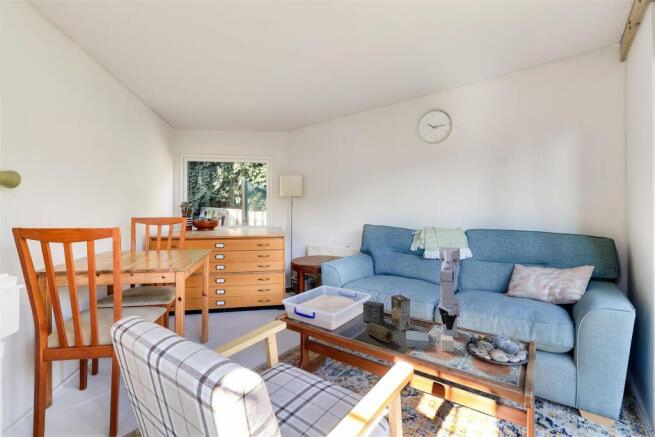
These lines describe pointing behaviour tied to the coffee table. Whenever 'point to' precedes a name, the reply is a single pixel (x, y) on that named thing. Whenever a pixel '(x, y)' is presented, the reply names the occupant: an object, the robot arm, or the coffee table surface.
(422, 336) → the base block
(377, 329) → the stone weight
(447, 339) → the cube
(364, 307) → the small box
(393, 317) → the coffee box
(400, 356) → the coffee table surface
